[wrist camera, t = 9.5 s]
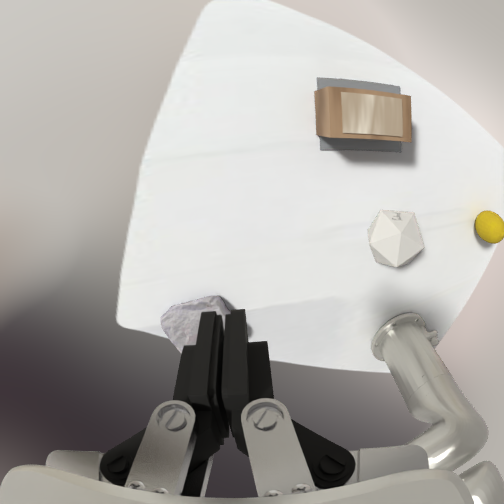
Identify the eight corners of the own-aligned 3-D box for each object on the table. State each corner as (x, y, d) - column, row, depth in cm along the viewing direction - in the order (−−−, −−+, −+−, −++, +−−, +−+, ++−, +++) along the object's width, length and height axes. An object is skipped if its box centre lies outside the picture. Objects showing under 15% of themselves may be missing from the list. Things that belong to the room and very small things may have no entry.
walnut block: (314, 91, 32) (388, 97, 32) (316, 135, 34) (389, 138, 34) (328, 86, 26) (411, 96, 26) (330, 137, 29) (412, 142, 29)
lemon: (469, 205, 39) (498, 221, 32) (487, 204, 39) (514, 219, 32) (465, 233, 42) (492, 252, 34) (483, 231, 42) (508, 248, 34)
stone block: (159, 308, 48) (191, 350, 50) (150, 320, 43) (185, 365, 45) (214, 277, 46) (246, 325, 48) (209, 288, 41) (245, 339, 43)
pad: (399, 86, 31) (399, 86, 31) (400, 152, 36) (401, 152, 35) (316, 77, 31) (317, 77, 31) (320, 149, 35) (320, 149, 35)
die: (413, 218, 41) (429, 202, 32) (412, 271, 40) (428, 268, 31) (366, 214, 44) (371, 198, 34) (364, 267, 43) (369, 264, 34)
